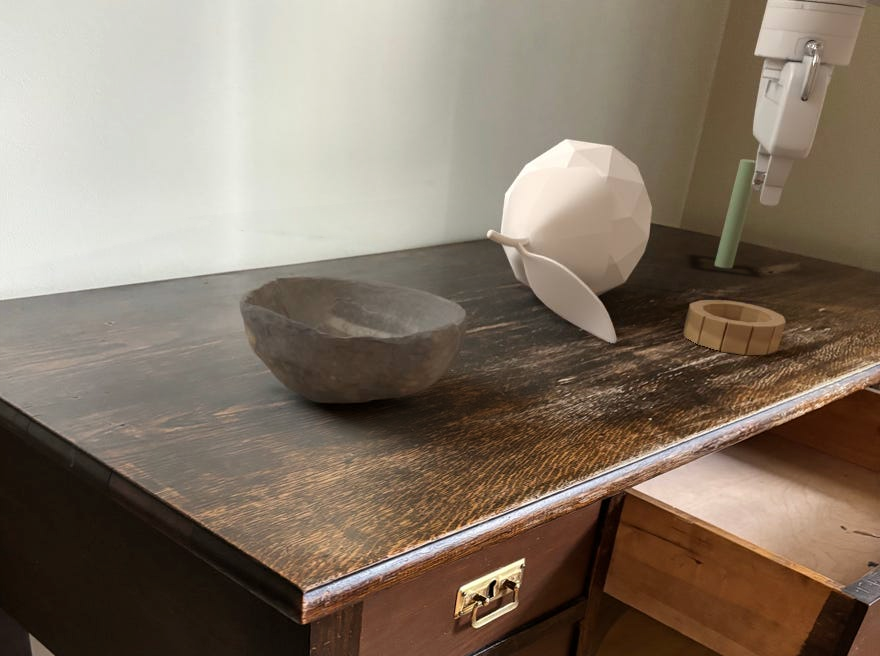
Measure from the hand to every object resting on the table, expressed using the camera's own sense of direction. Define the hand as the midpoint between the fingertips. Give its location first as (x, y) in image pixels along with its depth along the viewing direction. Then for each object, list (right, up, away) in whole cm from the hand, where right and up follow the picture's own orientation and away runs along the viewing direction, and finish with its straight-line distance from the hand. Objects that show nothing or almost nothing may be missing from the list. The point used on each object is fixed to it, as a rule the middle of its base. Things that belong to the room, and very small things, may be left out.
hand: (763, 197), depth 100 cm
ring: (-2, -14, +4) cm, 14 cm away
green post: (+6, +4, +32) cm, 33 cm away
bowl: (-42, -25, -19) cm, 52 cm away
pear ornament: (-20, -9, +9) cm, 24 cm away
